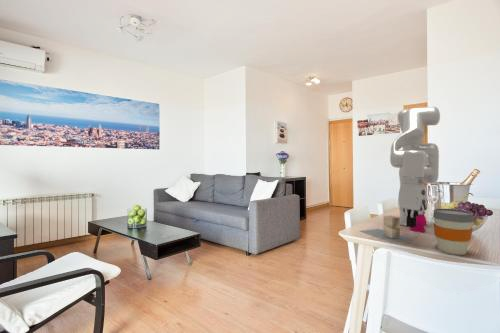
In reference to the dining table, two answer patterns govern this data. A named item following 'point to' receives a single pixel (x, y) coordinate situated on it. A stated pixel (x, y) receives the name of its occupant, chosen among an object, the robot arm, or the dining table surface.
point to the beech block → (391, 227)
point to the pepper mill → (419, 224)
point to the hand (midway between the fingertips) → (411, 226)
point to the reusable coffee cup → (453, 230)
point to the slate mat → (379, 234)
